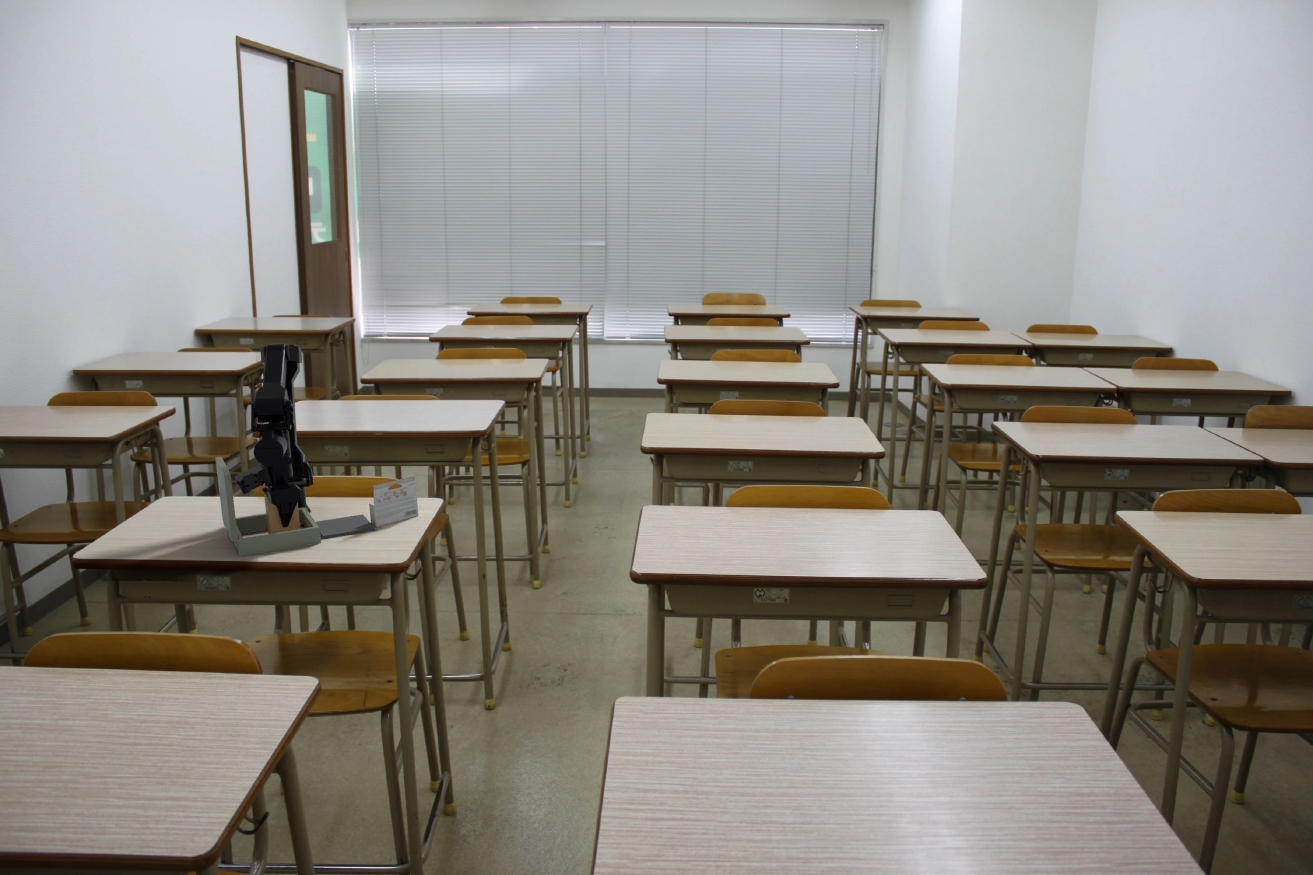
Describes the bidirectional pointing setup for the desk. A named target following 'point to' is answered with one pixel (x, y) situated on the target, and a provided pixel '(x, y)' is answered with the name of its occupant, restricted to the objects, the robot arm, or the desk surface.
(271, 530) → the box
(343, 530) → the rubber mat
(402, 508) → the ink cartridge box
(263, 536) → the case
